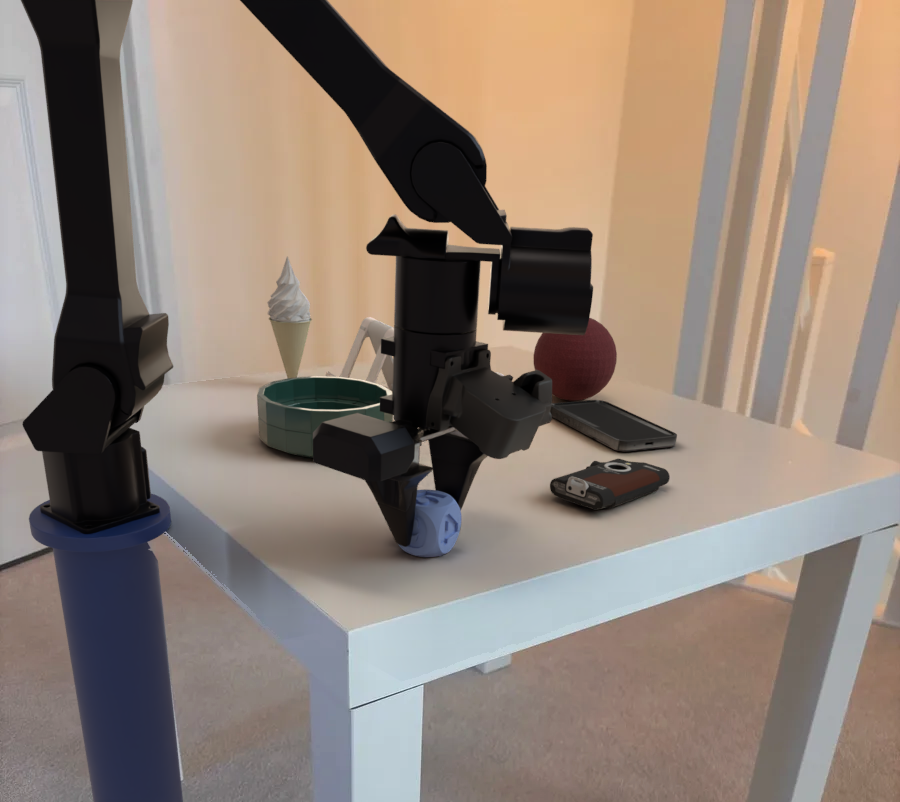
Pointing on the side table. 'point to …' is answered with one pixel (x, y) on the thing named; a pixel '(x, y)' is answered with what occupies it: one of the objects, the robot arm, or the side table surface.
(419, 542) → the decorative dice
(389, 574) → the side table surface
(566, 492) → the camera
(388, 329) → the tablet stand
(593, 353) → the decorative ball
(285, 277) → the ice cream cone
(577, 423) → the phone
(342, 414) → the bowl
